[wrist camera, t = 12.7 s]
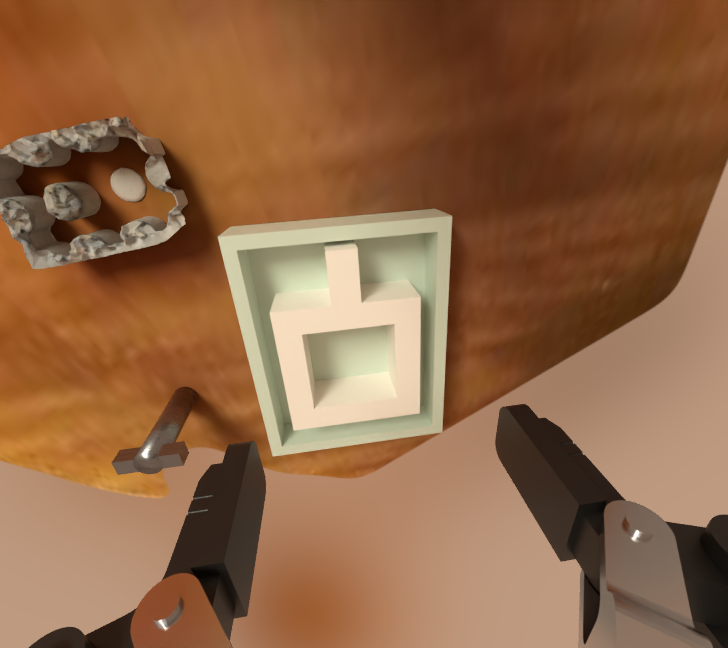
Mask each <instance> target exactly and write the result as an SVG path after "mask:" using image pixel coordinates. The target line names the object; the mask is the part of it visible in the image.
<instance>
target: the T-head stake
mask: <svg viewBox="0 0 728 648" xmlns="http://www.w3.org/2000/svg"><path fill="white" fill-rule="evenodd" d="M196 400H197V394H196V392H195V391H194V390H193V389H191V388H188V387H181V388H178V389H177V390H176V391H175V393H174V394H173V396H172V398H171V399H170V401H169V403H168V404H167V406H166V407H165V409H164V411H163V412H162V414H161V416H160V417H159V419H158V421H157V422H156V424H155V426H154V427H153V429H152V430H151V432H150V434H149V435H148V437H147V439H146V440H145V442H144V444H143V445H142V447H139V448H132V449H124V450H120V451H119V453H118V454H117V456H116V457H115V459H114V460H113V462H112V465H113V466H114V468H115V470H116V472H117V474H118V475H120V474H127V473H134V472H141V473H144V474H155V473H158V472H159V471H161V470H162V468H168V467H176V466H183V465H184V463H185V461H186V458H187V456H188V454H189V452H188V450H187V447H186V445H185V442H184V441H183V442H176V440H177V438H178V436H179V434H180V432H181V430H182V428H183V426H184V424H185V422H186V420H187V418H188V416H189V414H190V412H191V410H192V408H193V406H194V404H195V402H196ZM175 442H176V443H175Z"/></svg>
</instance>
